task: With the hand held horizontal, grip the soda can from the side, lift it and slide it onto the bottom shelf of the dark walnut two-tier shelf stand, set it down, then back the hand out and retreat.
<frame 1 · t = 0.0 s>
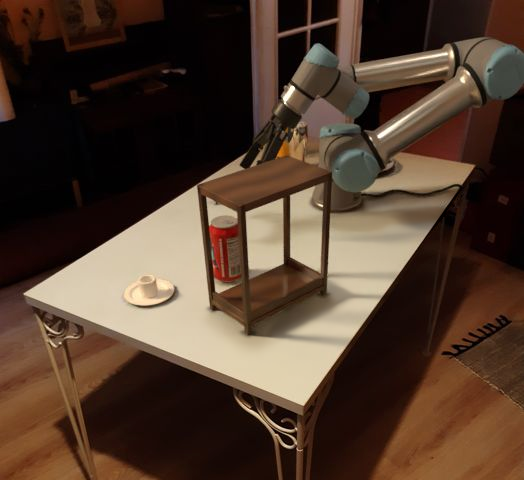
hand: (245, 176, 153), 15 cm above the table, tool tilted 35°, fingers open, 13 cm apart
soda can: (228, 277, 141), on the table
shelf stand: (269, 301, 132), on the table
food plate: (357, 167, 198), on the table
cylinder: (282, 155, 209), on the table
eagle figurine: (222, 199, 179), on the table
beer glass: (297, 168, 198), on the table
candle holder: (149, 294, 136), on the table
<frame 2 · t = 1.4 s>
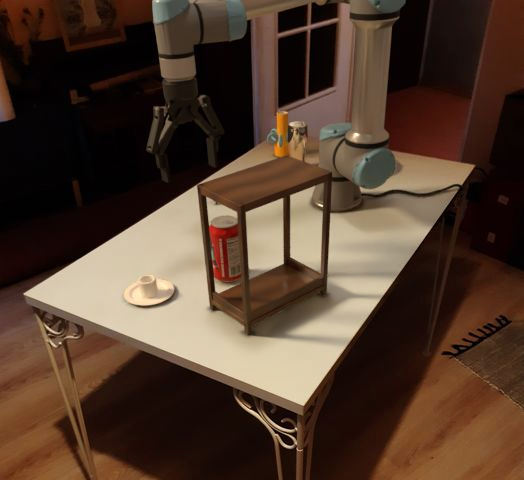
hand: (190, 173, 135), 23 cm above the table, tool pointing down, fingers open, 13 cm apart
nothing on the table moved.
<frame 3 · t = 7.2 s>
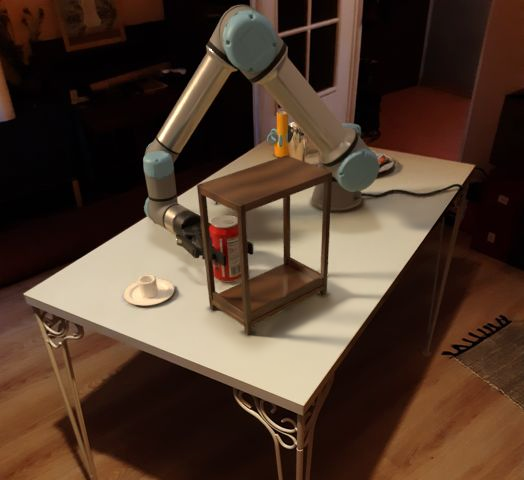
hand: (238, 255, 133), 8 cm above the table, tool horizontal, fingers closed on soda can, 7 cm apart
soda can: (229, 276, 141), on the table, touching gripper
everything else where it was.
when the fingers open (11 cm above the table, at t = 13.9 s): soda can stays where it is, resting on shelf stand.
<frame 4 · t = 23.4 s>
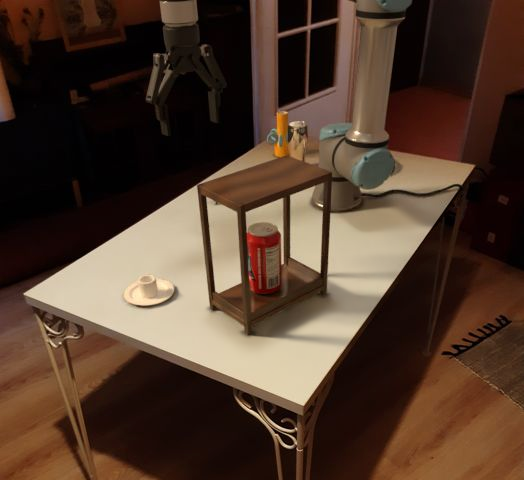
hand: (191, 128, 131), 33 cm above the table, tool pointing down, fingers open, 13 cm apart
soda can: (264, 288, 131), point 3 cm above the table, touching shelf stand
everything else where it was.
at the end: soda can inside the target area on the shelf stand (0.8 cm from its centre), point 2.8 cm above the shelf stand's base; soda can tilted 0°; the gripper is holding nothing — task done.
